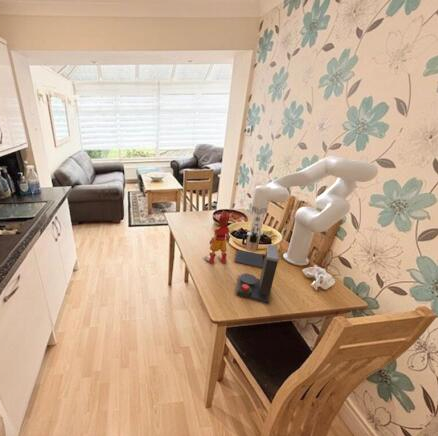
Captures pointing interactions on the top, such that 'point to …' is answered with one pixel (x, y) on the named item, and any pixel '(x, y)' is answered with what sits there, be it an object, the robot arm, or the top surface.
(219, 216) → the toy
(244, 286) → the power button
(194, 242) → the top surface
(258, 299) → the coffee maker
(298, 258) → the robot arm
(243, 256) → the plate
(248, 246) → the kettle
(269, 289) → the brewer column
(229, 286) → the top surface
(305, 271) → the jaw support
